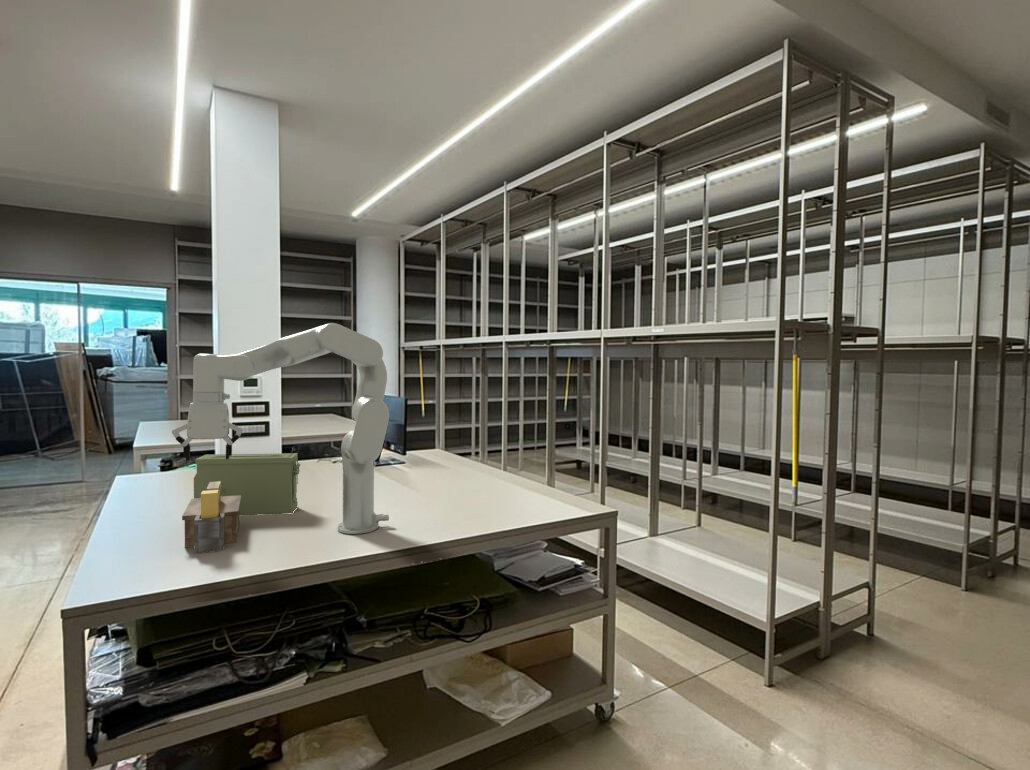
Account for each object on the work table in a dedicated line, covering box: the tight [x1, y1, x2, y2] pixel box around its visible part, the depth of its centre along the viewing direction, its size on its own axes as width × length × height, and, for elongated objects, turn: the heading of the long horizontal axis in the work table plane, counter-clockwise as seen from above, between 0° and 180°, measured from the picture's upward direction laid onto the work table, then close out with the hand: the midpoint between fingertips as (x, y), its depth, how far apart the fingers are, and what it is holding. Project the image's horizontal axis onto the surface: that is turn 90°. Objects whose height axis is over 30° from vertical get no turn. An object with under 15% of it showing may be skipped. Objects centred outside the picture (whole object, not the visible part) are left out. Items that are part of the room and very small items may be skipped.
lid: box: [181, 481, 241, 525], centre depth 161 cm, size 14×27×8 cm, turn 25°
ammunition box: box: [193, 452, 301, 516], centre depth 189 cm, size 10×33×20 cm, turn 100°
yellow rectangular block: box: [201, 490, 219, 519], centre depth 152 cm, size 4×4×16 cm
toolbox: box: [184, 509, 241, 554], centre depth 161 cm, size 13×26×8 cm, turn 25°
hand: (208, 459), depth 151 cm, fingers open, 9 cm apart
